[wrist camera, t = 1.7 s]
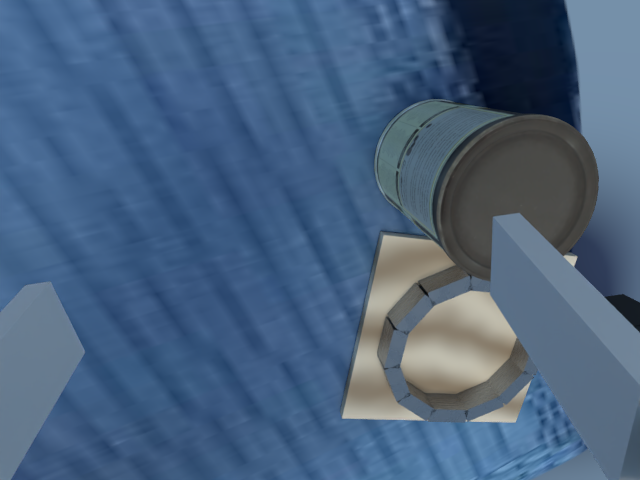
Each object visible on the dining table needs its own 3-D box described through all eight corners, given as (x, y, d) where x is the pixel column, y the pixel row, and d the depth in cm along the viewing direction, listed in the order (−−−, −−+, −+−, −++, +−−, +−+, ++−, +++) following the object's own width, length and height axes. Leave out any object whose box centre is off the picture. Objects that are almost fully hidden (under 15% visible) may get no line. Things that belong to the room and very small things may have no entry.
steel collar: (504, 407, 51) (517, 423, 49) (364, 402, 48) (371, 420, 45) (552, 273, 46) (569, 284, 44) (399, 258, 43) (409, 269, 40)
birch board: (510, 416, 53) (515, 422, 52) (340, 411, 49) (342, 418, 48) (570, 252, 47) (577, 256, 46) (380, 231, 42) (383, 235, 42)
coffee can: (489, 93, 40) (613, 108, 27) (481, 209, 43) (586, 272, 30) (371, 102, 38) (440, 122, 25) (373, 221, 42) (434, 293, 29)
